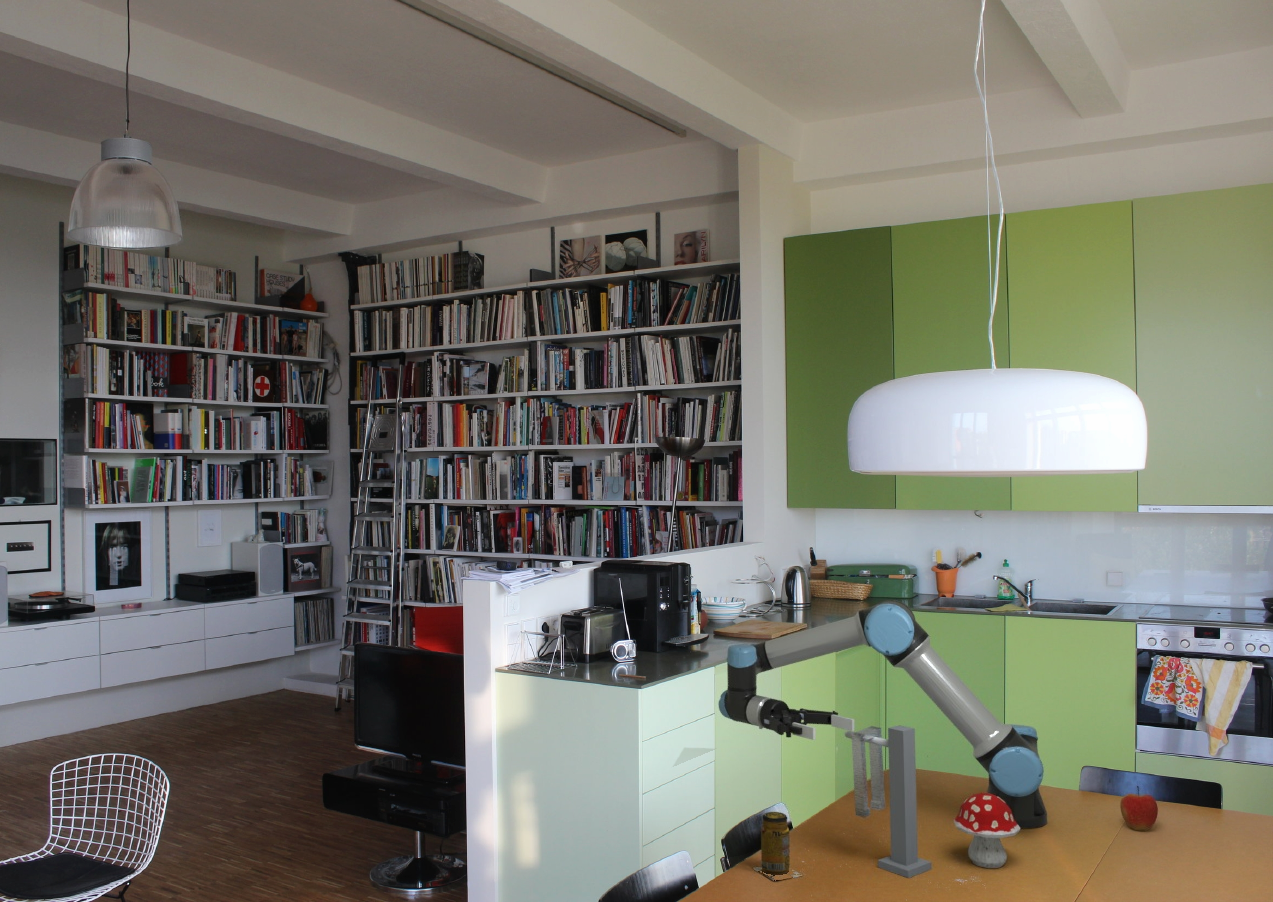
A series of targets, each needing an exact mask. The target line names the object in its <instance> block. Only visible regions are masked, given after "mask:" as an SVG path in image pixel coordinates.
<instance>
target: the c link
mask: <svg viewBox="0 0 1273 902" xmlns="http://www.w3.org/2000/svg"><path fill="white" fill-rule="evenodd" d="M854 732H855V733H852V734H851V735H852V739H851V749H852V753H851V754H852V768H853V788H854V790H853V792H854V805H855V806H854V808H855V816H857V817H861V818H865V819H866V818H868V817H869V816H871V809H873V810H875V811H876V810H877V811H882V810H884V809H886V800H885V799H886V798H885V797H886V796H885V779H884V760H883V746H880V745H876V744H872V743H868V751H869V766H870V787H871V790H870V791H871V801H869V796H868V793H869V792H868V778H867V777H868V775H867V774H868V773H867V772H868V771H867V755H866V742H865V741H866V740H868V739H871V738H873V737H878V738H883V737H882V727H877V726H873V725H871V726H869V727H865V728H863V729H860V730H858V731H854ZM869 804H870V807H869Z"/></svg>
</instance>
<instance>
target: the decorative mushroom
mask: <svg viewBox="0 0 1273 902" xmlns="http://www.w3.org/2000/svg"><path fill="white" fill-rule="evenodd" d="M953 823H954V825H955V827H956V829H957V830H959V831H961V832H963V833H965V834H968V835H972V836H973V838H972V841H971V843H970V844H969V847H968V850H967V852H968V853H967V855H968V857H969V859H970V860H971V862H972V863H973V865H976V866H978V867H982V868H986V869H997V868H998V869H999V868H1001V867H1003V866H1004V865H1005V863H1006V861H1007V860H1008V854H1007V852H1006V849H1005V847H1004V845H1003V844H1002V841H1001V839H1004V838H1007V837H1014V836H1016V835H1017V834H1018V833H1019V832H1020V831H1021V828H1020V827H1019V825H1018V824H1017V823H1016V821H1015V820H1014V817H1013V814H1012V811H1011V809H1010V808H1009V807H1008V805H1007V804H1006V803H1005V802H1004V801H1003V800H1002V799H1001V798H999V797H998V796H995V795H993V794H990V793H987V792H980V793H975V794H972V795H970V796H969V797H968V798H966V799H965V800H964V801H963V802H962V804H961V806H960V809H959V812H958V814H957V816H956V817H955V818H954V820H953Z"/></svg>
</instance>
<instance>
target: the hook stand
mask: <svg viewBox="0 0 1273 902" xmlns="http://www.w3.org/2000/svg"><path fill="white" fill-rule="evenodd" d="M887 728H888V729H887V734H888V735H887V736H888V737H887V738H888V739H886V738H883V737H882V738H878V737H873V738H871V739H868V740H866V741H865V743H868V744H869V743H872V744H876V745H880V746H882V747H885V748H888V773H889V774H888V778H889V779H888V781H889V786H888V787H889V788H888V789H889V820H890V821H889V825H890V855H888V856H886V857H882V858H880V859H877V867H878V868H879V869H882V870H885V871H888V872H891V873H893V874H897V875H899V876H902V877H904V878H907V879H910V878H912V877H915V876H918V875H920V874H922V873H925V872H928V871H930V870H932V862H931V861H929V860H926V859H923V858H920V857H919V853H918V850H919V849H918V848H919V847H918V813H917V811H918V810H917V809H918V808H917V806H918V805H917V773H916V771H917V770H916V767H917V766H916V765H917V764H916V735H915V733H916V732H915V730H916V729H915V728H914V727H911V726H904V725H895V726H894V725H893V726H891V727H887ZM855 732H856V731H849V730H845V732H844V737H845V738H846V739H847V738H848V739H851V740H852V735H851V734H852V733H855Z"/></svg>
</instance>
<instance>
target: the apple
mask: <svg viewBox="0 0 1273 902" xmlns="http://www.w3.org/2000/svg"><path fill="white" fill-rule="evenodd" d="M1136 787H1137V794H1134V793H1127V794H1126V795H1124V796H1123V797H1121V799H1120V803H1119V804H1120V805H1119V806H1120V812H1121V816H1122V818H1123V821H1124V822H1125V824H1127V826H1128V827H1129V828H1131V829H1132V830H1135V831H1142V832H1143V831H1144V832H1145V831H1147V830H1149V829H1151V828H1152V827H1153V826H1154V825H1155V823H1156V821H1157V819H1158V816H1159V815H1158V813H1159V809H1158V808H1159V807H1158V804H1157V801H1156V799H1155V798H1154V797H1153V796H1152V795H1150V794H1140V793H1139V792H1140V791H1139V790H1140V787H1139V786H1137V785H1136Z"/></svg>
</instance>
